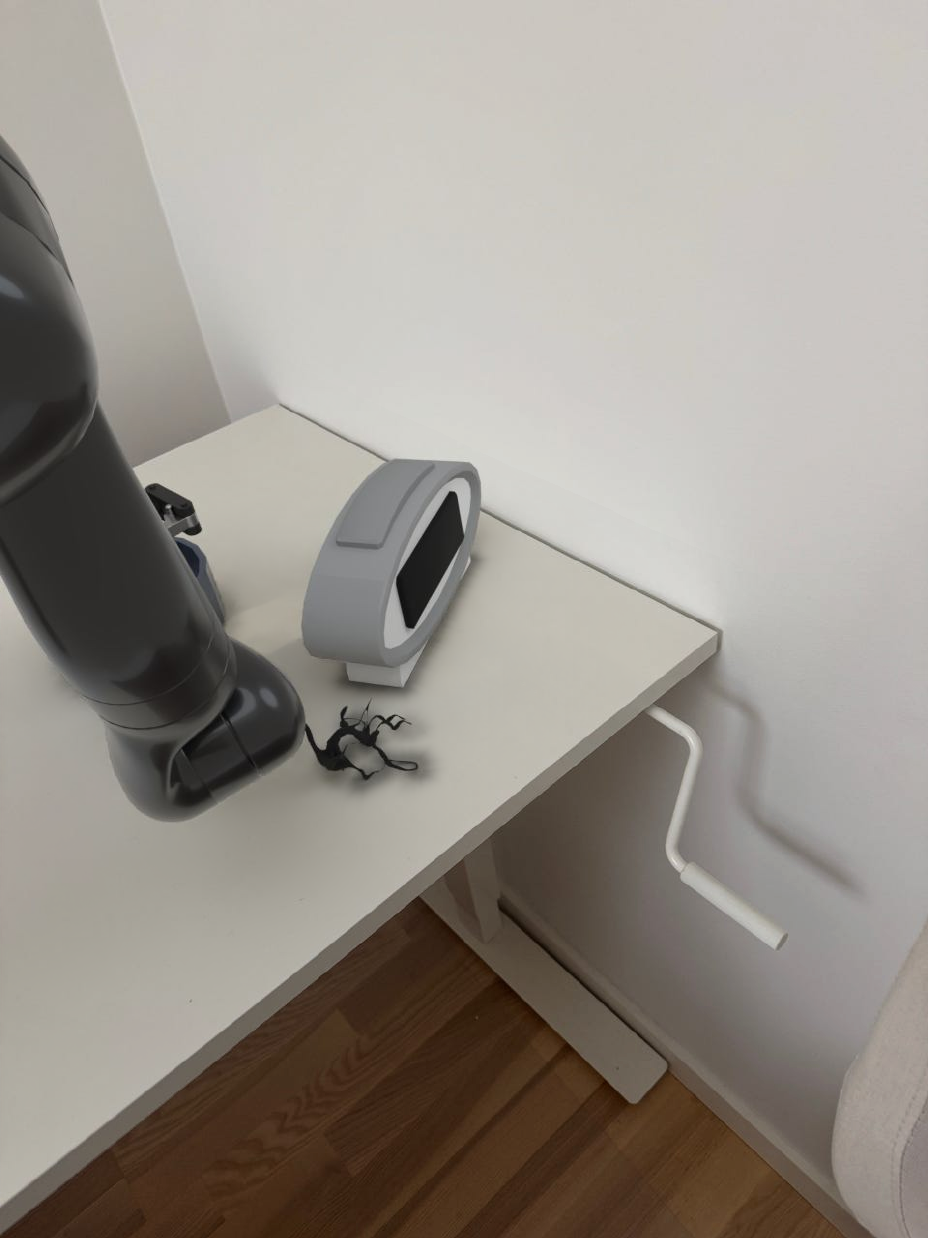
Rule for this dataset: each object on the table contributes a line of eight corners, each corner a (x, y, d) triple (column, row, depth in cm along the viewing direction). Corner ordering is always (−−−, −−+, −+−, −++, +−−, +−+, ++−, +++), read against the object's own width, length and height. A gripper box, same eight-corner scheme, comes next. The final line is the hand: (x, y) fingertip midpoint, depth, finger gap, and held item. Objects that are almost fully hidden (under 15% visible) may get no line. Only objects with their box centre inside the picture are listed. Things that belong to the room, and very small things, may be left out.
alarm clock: (397, 719, 71) (362, 582, 63) (324, 708, 73) (280, 575, 65) (491, 540, 88) (472, 415, 80) (428, 536, 90) (404, 413, 82)
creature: (376, 715, 73) (287, 757, 69) (375, 657, 71) (282, 696, 66) (442, 766, 68) (351, 815, 64) (444, 705, 66) (348, 751, 61)
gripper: (217, 510, 65) (151, 425, 77) (5, 596, 60) (-29, 491, 73) (249, 597, 70) (182, 503, 82) (54, 682, 65) (14, 570, 77)
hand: (83, 498), depth 77 cm, fingers closed on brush, 4 cm apart
